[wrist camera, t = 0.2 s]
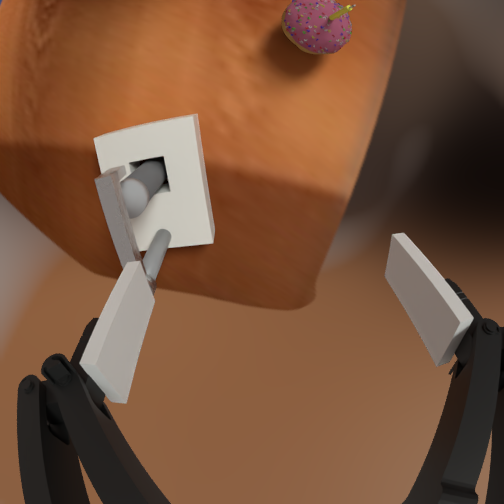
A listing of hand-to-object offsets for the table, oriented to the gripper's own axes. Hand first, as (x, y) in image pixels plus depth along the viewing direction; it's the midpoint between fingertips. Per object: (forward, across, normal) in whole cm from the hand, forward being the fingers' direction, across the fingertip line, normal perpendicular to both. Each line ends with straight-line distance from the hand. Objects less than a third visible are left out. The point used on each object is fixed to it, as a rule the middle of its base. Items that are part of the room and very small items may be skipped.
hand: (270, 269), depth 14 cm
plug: (+28, -14, 0) cm, 31 cm away
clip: (+15, -14, -4) cm, 21 cm away
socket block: (+28, -14, -3) cm, 31 cm away
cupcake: (+28, +10, +17) cm, 34 cm away
